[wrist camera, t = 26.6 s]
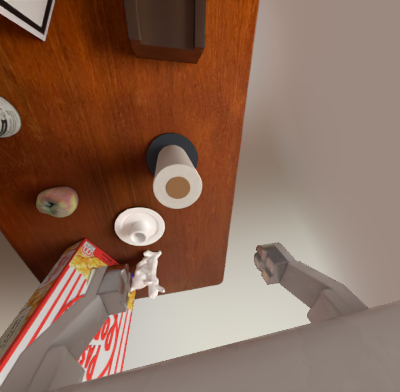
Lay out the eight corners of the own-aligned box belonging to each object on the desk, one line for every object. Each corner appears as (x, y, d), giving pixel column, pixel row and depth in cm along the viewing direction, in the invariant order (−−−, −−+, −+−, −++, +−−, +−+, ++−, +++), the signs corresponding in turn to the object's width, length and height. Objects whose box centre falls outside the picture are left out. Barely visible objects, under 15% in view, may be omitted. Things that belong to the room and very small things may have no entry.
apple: (95, 203, 35) (83, 218, 30) (56, 209, 34) (37, 226, 29) (84, 178, 32) (69, 190, 27) (41, 184, 31) (16, 198, 26)
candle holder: (114, 204, 36) (108, 214, 32) (166, 207, 39) (166, 217, 35) (116, 243, 41) (111, 256, 37) (162, 243, 44) (162, 255, 40)
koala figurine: (164, 245, 44) (164, 285, 34) (165, 262, 47) (165, 303, 37) (133, 248, 43) (122, 291, 32) (136, 265, 46) (127, 309, 35)
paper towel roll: (155, 211, 21) (150, 164, 18) (159, 174, 34) (156, 144, 31) (201, 207, 22) (203, 163, 19) (187, 173, 36) (187, 144, 33)
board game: (139, 277, 48) (114, 431, 24) (122, 286, 48) (81, 447, 25) (85, 236, 38) (-44, 431, 15) (64, 248, 38) (-95, 457, 15)
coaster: (197, 133, 33) (198, 133, 32) (196, 181, 38) (197, 182, 37) (143, 132, 30) (142, 133, 30) (149, 184, 35) (149, 185, 35)
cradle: (197, -3, 24) (208, -45, 18) (196, 63, 27) (205, 48, 21) (127, -16, 22) (113, -68, 16) (136, 57, 25) (127, 38, 19)
